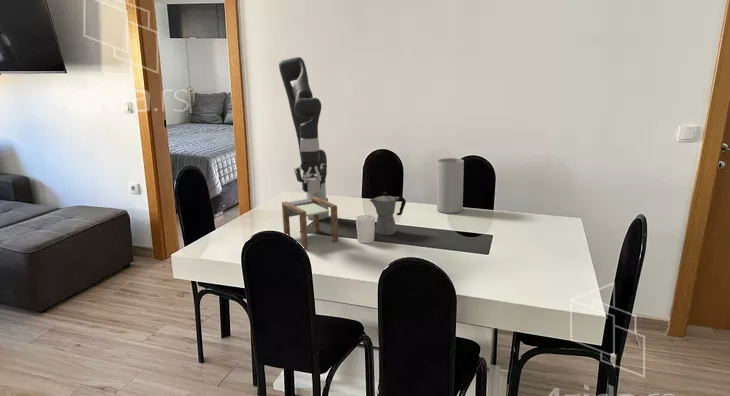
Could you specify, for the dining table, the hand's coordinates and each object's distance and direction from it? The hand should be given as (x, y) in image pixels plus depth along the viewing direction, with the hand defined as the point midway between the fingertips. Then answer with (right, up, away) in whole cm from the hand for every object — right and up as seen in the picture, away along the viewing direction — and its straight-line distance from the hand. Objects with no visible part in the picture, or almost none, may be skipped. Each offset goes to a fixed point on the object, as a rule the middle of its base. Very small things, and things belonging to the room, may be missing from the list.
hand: (311, 190), depth 209 cm
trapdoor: (-3, -11, +8) cm, 14 cm away
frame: (-1, -20, +8) cm, 22 cm away
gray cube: (0, 0, 0) cm, 0 cm away
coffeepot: (+32, -18, +16) cm, 40 cm away
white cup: (+22, -21, +5) cm, 31 cm away
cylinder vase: (+63, -9, +46) cm, 79 cm away
